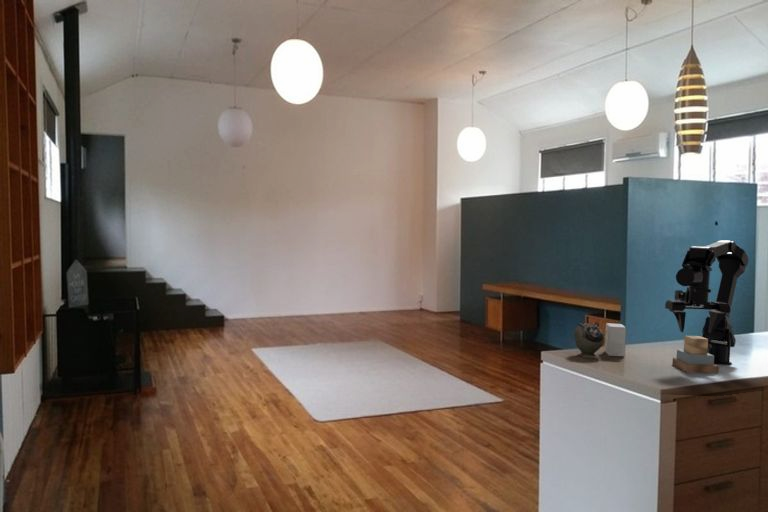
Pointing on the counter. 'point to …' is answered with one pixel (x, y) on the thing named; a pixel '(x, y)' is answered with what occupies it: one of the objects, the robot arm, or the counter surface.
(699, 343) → the oak block
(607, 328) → the small box
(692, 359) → the tower top
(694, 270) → the robot arm
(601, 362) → the counter surface
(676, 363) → the tower base
